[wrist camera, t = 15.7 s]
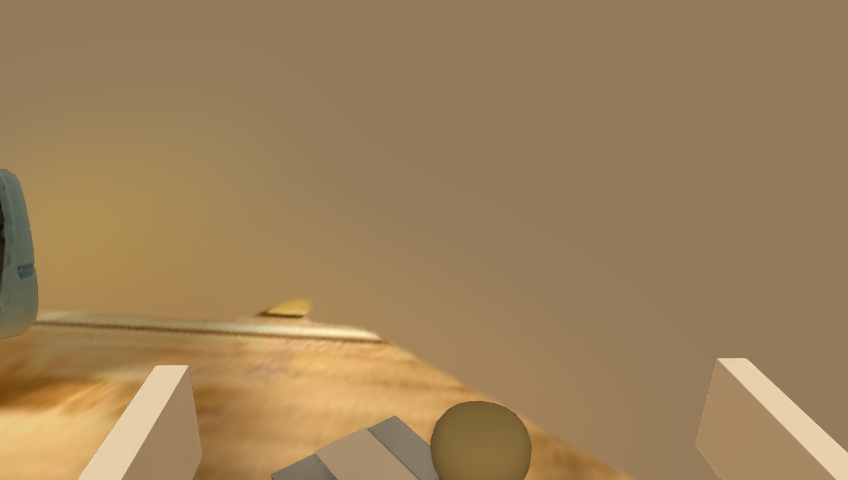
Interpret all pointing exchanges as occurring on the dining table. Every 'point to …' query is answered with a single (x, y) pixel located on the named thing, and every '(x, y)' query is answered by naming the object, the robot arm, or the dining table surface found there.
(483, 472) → the cork
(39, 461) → the dining table surface
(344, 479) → the metal rail
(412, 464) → the mounting board
